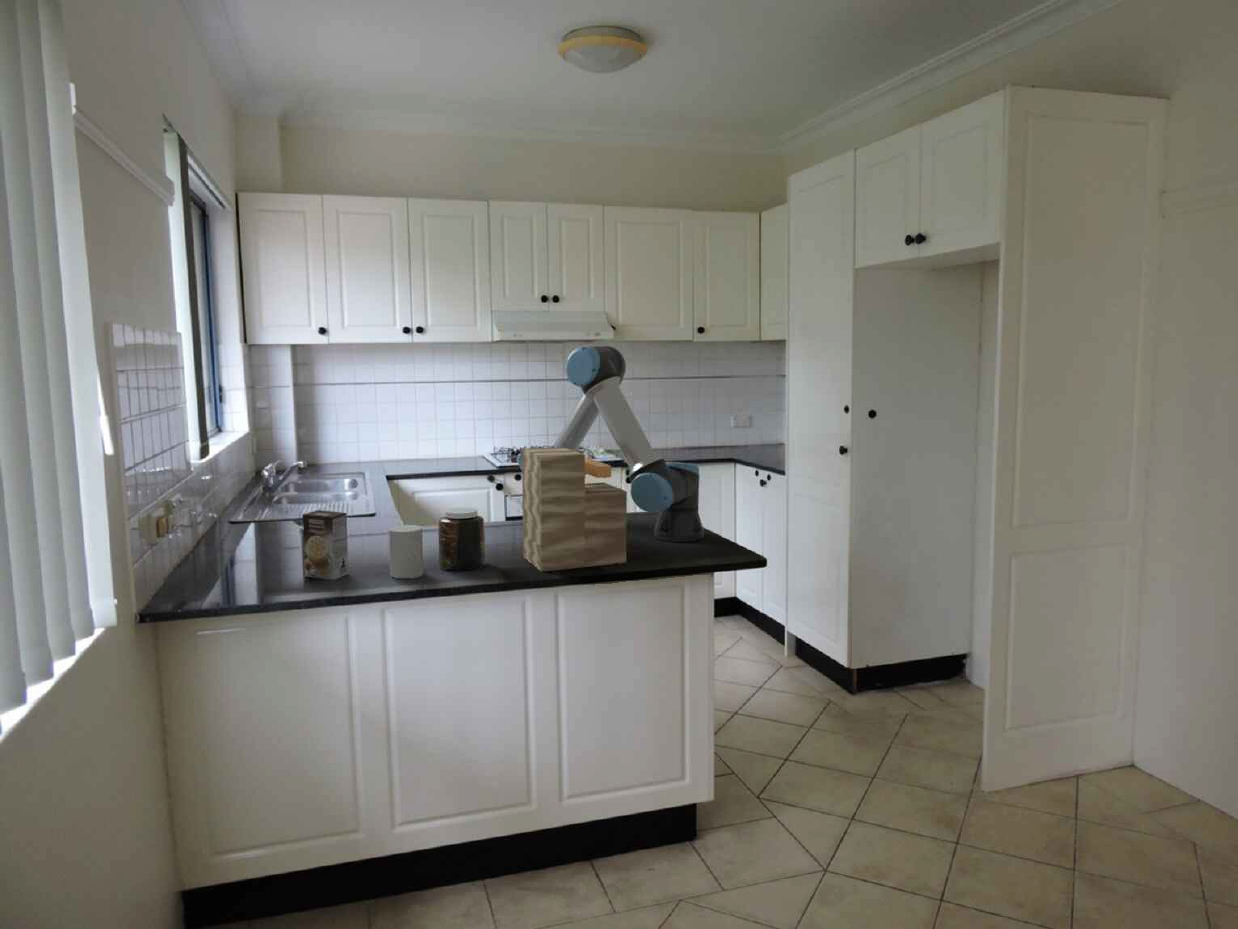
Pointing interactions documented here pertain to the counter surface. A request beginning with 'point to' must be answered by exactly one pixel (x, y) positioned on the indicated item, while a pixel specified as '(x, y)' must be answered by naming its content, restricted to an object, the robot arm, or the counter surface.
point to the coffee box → (325, 544)
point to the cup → (406, 551)
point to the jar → (461, 540)
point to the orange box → (597, 468)
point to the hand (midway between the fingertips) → (580, 453)
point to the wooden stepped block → (569, 513)
